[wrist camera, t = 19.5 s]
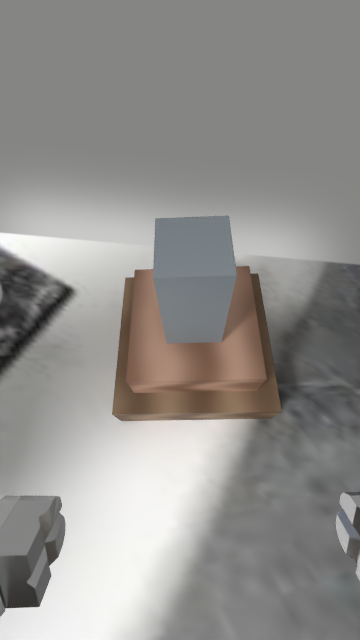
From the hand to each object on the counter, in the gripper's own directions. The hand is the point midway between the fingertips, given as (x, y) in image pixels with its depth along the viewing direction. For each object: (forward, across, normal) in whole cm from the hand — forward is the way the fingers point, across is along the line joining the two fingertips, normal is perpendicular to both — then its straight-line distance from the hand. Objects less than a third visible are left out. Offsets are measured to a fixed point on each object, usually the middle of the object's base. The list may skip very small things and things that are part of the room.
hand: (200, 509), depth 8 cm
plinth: (+25, -1, +6) cm, 26 cm away
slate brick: (+20, -1, 0) cm, 20 cm away
